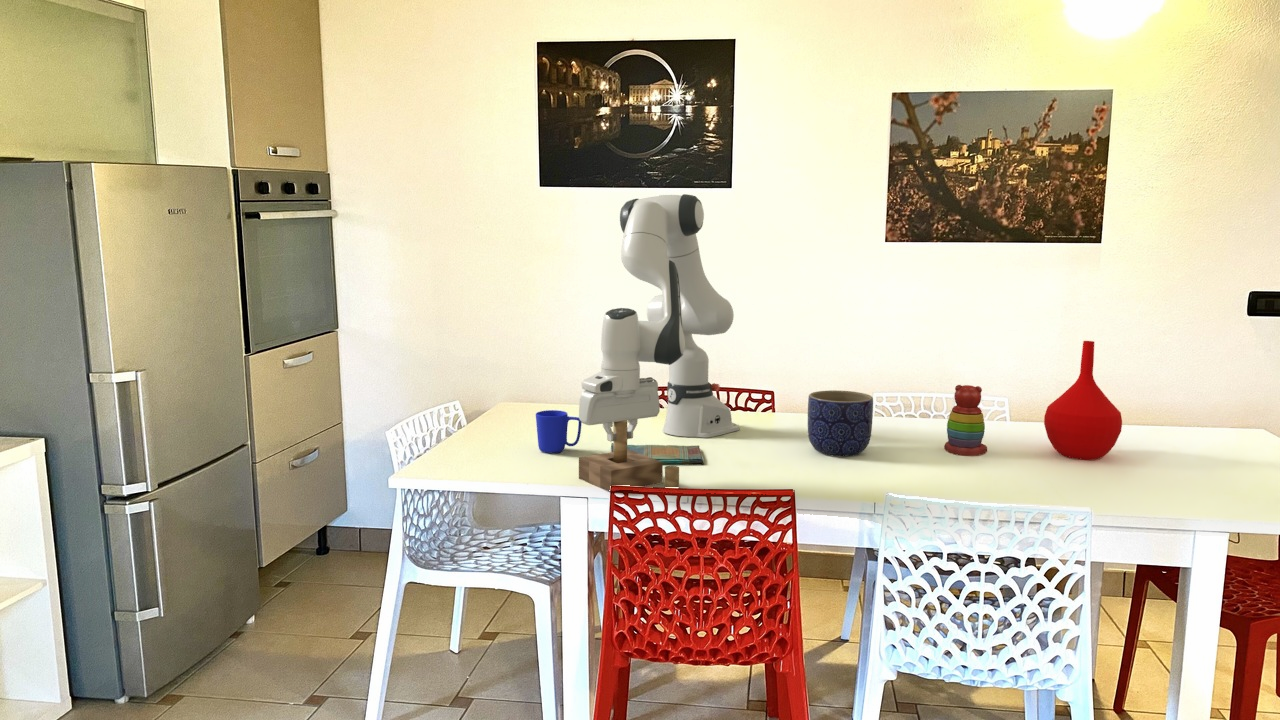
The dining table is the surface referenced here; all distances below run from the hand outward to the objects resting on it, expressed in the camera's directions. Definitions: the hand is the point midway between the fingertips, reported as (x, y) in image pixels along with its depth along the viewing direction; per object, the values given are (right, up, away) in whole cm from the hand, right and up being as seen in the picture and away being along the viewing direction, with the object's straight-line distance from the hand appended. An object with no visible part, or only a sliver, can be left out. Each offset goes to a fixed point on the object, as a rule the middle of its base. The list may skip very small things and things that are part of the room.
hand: (620, 439), depth 224 cm
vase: (+119, -7, +28) cm, 122 cm away
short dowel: (+12, -11, -5) cm, 17 cm away
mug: (-16, -6, +29) cm, 34 cm away
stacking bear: (+90, -6, +31) cm, 95 cm away
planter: (+57, -6, +30) cm, 64 cm away
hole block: (0, -10, +2) cm, 10 cm away
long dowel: (0, -5, +1) cm, 5 cm away
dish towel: (+9, -7, +24) cm, 27 cm away
